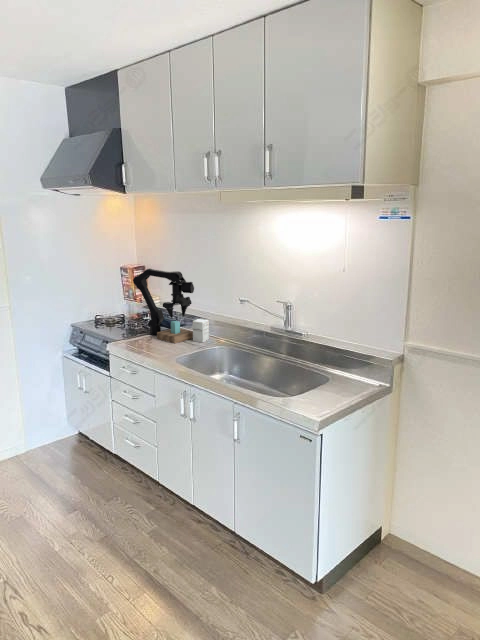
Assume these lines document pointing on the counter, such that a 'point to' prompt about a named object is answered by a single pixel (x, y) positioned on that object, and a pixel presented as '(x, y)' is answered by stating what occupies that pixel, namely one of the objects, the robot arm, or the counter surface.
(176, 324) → the teal peg
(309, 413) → the counter surface
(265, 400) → the counter surface
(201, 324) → the supplement box
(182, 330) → the walnut socket
